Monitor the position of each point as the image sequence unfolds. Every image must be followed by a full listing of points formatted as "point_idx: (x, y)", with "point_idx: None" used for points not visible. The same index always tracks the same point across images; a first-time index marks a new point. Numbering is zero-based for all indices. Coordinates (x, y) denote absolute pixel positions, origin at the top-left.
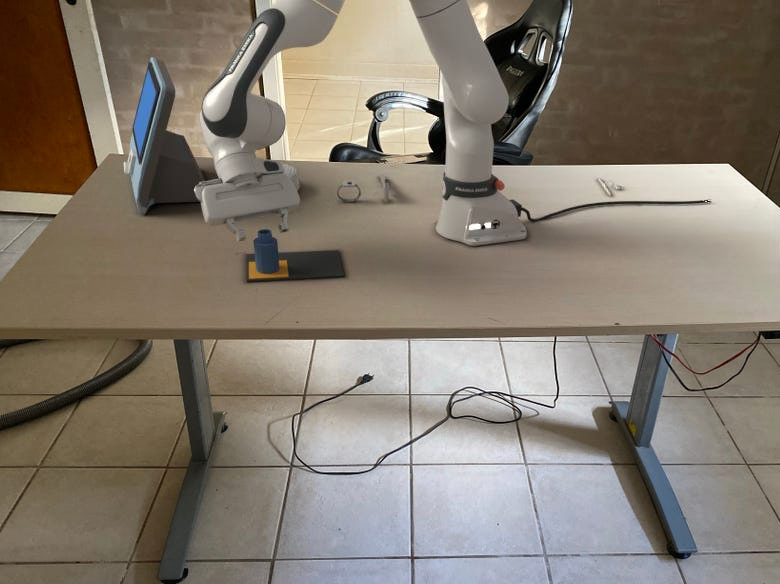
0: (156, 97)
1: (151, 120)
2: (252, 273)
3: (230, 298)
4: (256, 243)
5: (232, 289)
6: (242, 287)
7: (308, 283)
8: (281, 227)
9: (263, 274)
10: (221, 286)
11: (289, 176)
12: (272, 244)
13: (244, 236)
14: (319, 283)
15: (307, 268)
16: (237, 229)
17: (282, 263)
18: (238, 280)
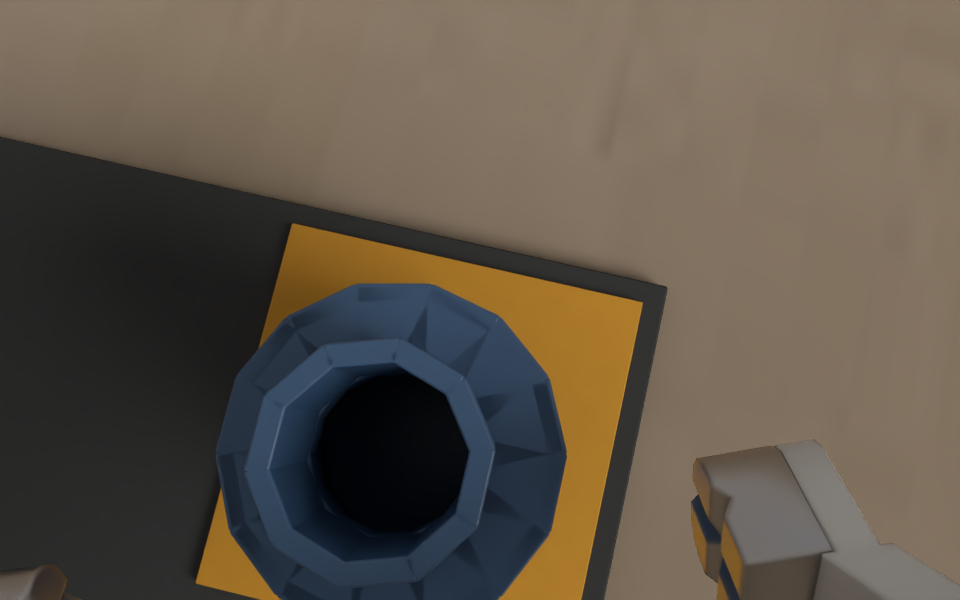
0: None
1: None
2: (590, 393)
3: (850, 47)
4: (536, 398)
5: (808, 199)
6: (719, 207)
7: (166, 95)
8: (29, 597)
9: None
10: (891, 286)
11: None
12: (329, 298)
13: (719, 462)
14: (79, 65)
15: (71, 347)
16: (859, 566)
17: None
18: (727, 354)
